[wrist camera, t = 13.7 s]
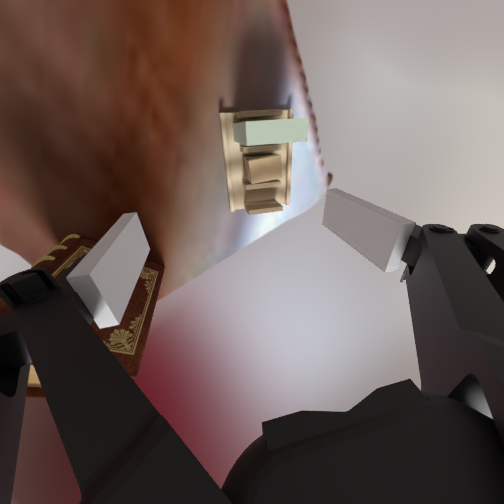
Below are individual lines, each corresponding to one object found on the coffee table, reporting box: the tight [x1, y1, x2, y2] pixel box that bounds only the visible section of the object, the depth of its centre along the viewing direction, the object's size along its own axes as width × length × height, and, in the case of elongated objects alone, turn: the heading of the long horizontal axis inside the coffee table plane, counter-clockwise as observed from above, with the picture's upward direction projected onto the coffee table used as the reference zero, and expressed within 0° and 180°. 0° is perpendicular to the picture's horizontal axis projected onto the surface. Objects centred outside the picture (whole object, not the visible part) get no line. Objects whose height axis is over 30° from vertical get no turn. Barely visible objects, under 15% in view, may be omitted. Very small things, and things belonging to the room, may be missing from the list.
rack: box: [219, 109, 294, 215], centre depth 45 cm, size 20×15×7 cm
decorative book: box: [0, 234, 165, 399], centre depth 40 cm, size 22×8×30 cm, turn 56°
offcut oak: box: [245, 153, 282, 184], centre depth 43 cm, size 4×7×3 cm
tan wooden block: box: [242, 153, 274, 179], centre depth 46 cm, size 4×7×3 cm, turn 93°
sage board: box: [233, 118, 309, 146], centre depth 38 cm, size 3×10×14 cm, turn 93°
